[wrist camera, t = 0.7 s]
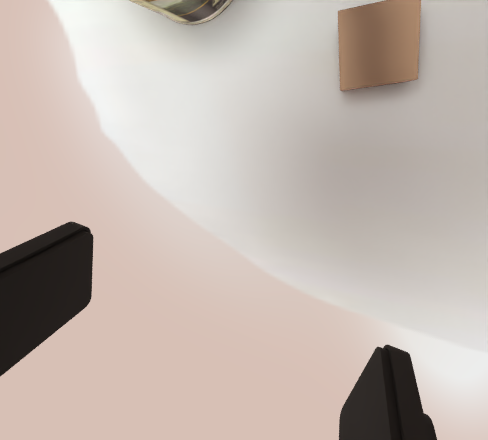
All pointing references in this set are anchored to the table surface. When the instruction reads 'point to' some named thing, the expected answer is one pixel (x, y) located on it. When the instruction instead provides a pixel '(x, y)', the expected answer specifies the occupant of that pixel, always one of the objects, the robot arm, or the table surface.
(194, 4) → the coffee can
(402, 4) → the walnut block
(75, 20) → the table surface
